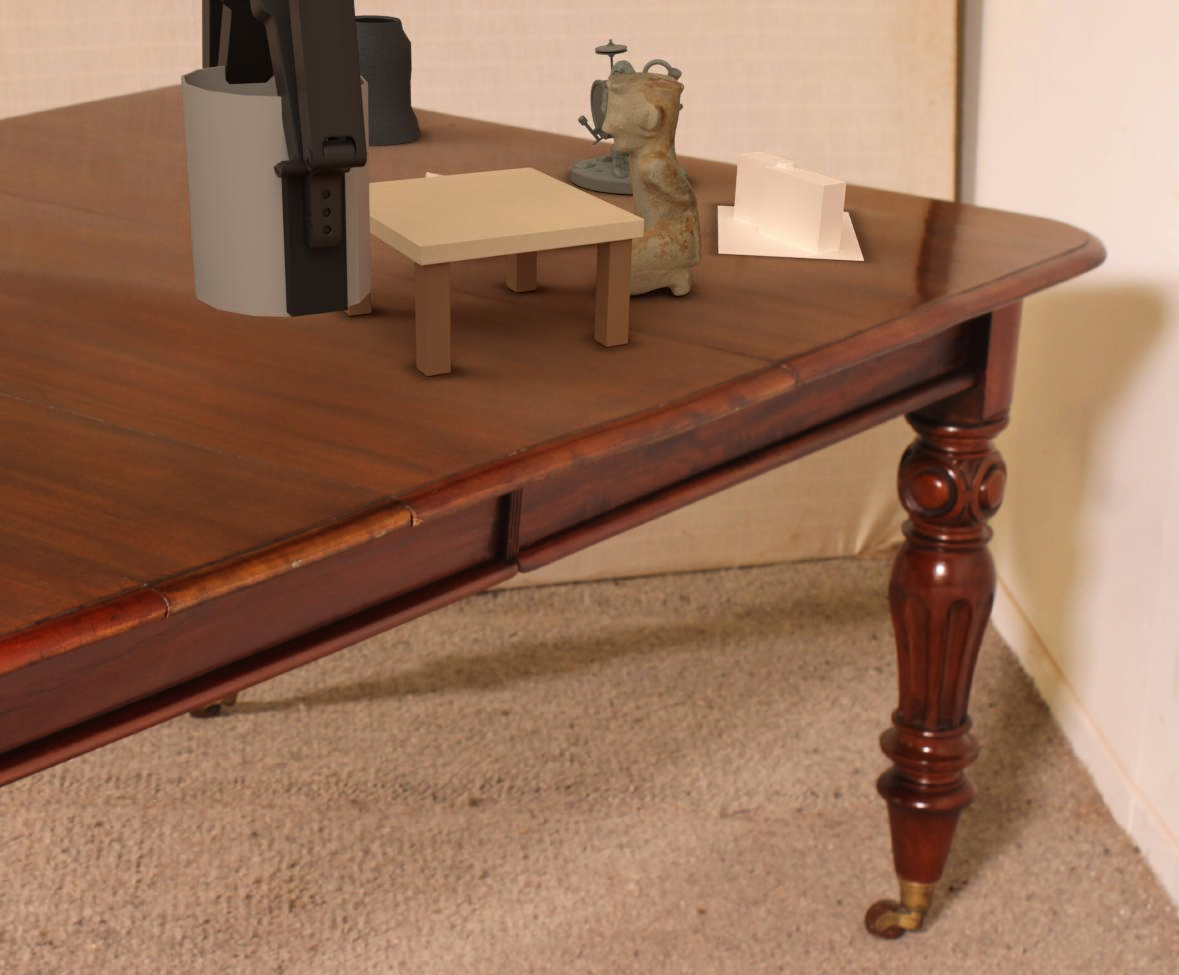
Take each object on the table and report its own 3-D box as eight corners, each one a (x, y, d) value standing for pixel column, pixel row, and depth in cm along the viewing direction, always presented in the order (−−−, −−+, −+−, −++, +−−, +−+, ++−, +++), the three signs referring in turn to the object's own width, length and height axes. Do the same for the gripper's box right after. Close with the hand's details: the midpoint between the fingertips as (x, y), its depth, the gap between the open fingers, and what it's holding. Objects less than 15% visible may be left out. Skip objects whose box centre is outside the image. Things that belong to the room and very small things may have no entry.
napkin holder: (867, 261, 114) (875, 187, 112) (718, 254, 115) (723, 180, 112) (848, 211, 128) (855, 144, 125) (715, 205, 128) (719, 138, 126)
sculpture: (592, 278, 108) (599, 65, 101) (691, 279, 108) (704, 67, 102) (599, 303, 102) (607, 80, 96) (703, 304, 103) (718, 82, 97)
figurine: (592, 197, 129) (596, 55, 124) (554, 169, 138) (557, 36, 133) (704, 191, 132) (713, 52, 127) (660, 164, 142) (667, 34, 137)
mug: (420, 126, 154) (418, 13, 150) (421, 145, 146) (419, 26, 141) (303, 125, 153) (297, 11, 148) (296, 144, 145) (290, 24, 140)
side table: (422, 381, 88) (420, 245, 85) (330, 308, 100) (325, 186, 96) (638, 345, 95) (644, 218, 92) (529, 281, 107) (530, 166, 103)
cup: (163, 281, 73) (147, 71, 68) (307, 255, 78) (301, 58, 74) (255, 328, 67) (244, 103, 63) (403, 297, 72) (402, 87, 68)
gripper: (451, -226, 56) (446, 341, 66) (267, -233, 73) (285, 223, 82) (258, -237, 53) (283, 364, 63) (111, -242, 69) (149, 235, 79)
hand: (284, 283), depth 72 cm, fingers closed on cup, 8 cm apart
